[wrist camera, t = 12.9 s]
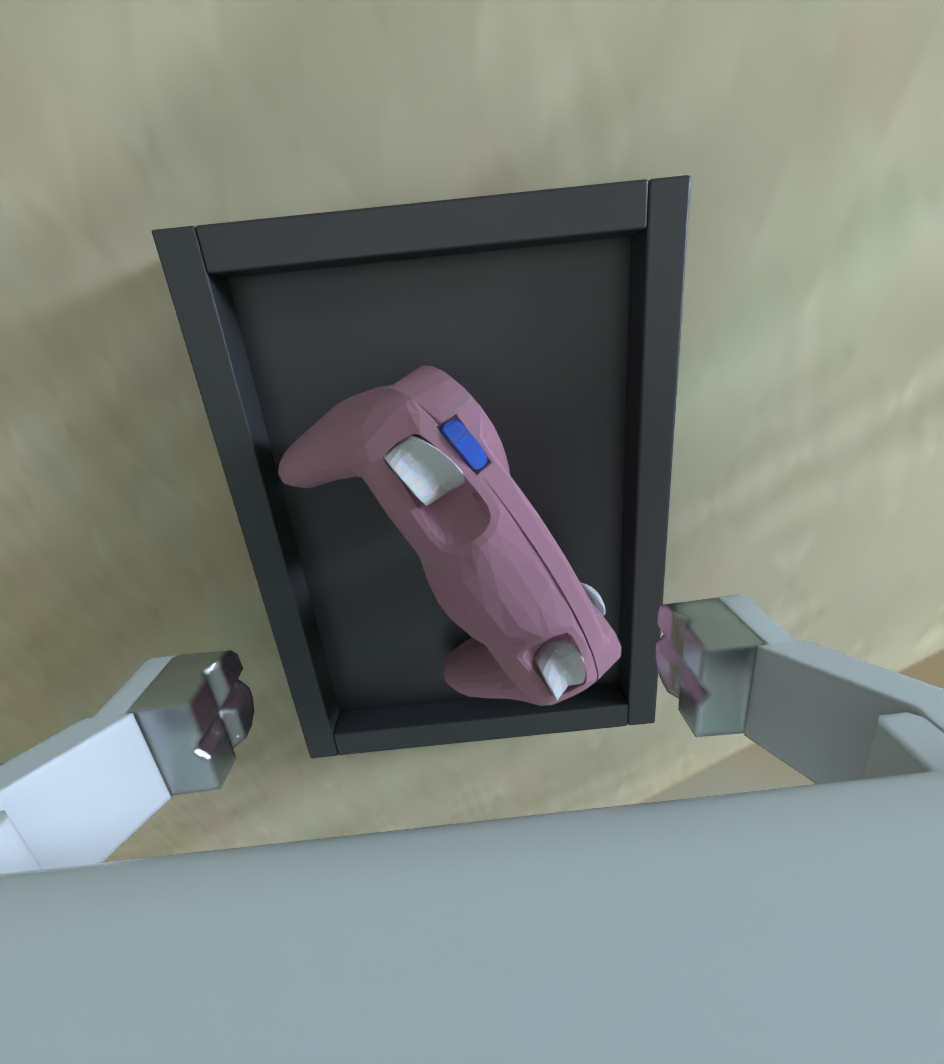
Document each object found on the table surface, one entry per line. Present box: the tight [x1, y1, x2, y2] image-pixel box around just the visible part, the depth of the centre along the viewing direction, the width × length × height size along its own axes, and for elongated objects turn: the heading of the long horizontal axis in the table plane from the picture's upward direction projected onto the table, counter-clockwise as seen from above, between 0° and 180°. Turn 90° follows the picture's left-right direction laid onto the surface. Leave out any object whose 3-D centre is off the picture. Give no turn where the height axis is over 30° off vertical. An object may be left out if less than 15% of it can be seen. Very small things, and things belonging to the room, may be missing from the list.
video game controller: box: [278, 365, 621, 706], centre depth 13 cm, size 10×5×7 cm, turn 32°
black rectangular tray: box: [152, 175, 691, 758], centre depth 15 cm, size 12×16×2 cm
